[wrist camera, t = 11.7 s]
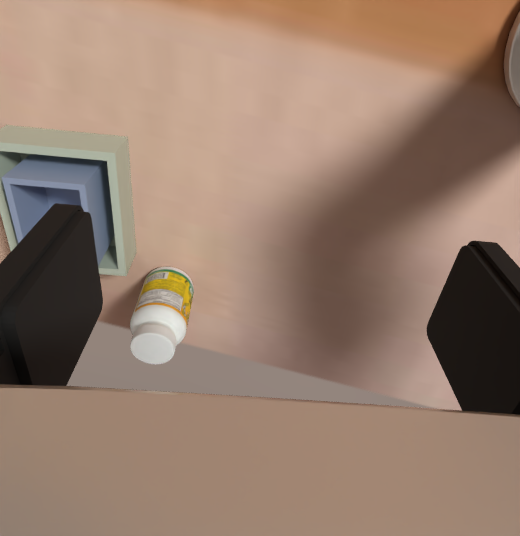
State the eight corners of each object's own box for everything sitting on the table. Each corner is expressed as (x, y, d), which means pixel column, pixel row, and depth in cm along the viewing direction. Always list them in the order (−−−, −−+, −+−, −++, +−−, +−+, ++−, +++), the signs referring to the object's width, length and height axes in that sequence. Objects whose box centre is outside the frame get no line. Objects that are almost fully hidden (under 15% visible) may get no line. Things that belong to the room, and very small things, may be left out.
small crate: (106, 157, 38) (84, 184, 33) (114, 235, 42) (96, 269, 37) (34, 150, 37) (1, 177, 32) (50, 229, 42) (23, 263, 37)
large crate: (128, 135, 37) (114, 153, 33) (137, 250, 44) (126, 276, 40) (8, 123, 36) (-20, 140, 33) (35, 242, 43) (15, 267, 39)
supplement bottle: (156, 257, 44) (135, 318, 36) (203, 277, 46) (192, 341, 38) (137, 292, 47) (113, 357, 39) (182, 311, 48) (168, 376, 40)
